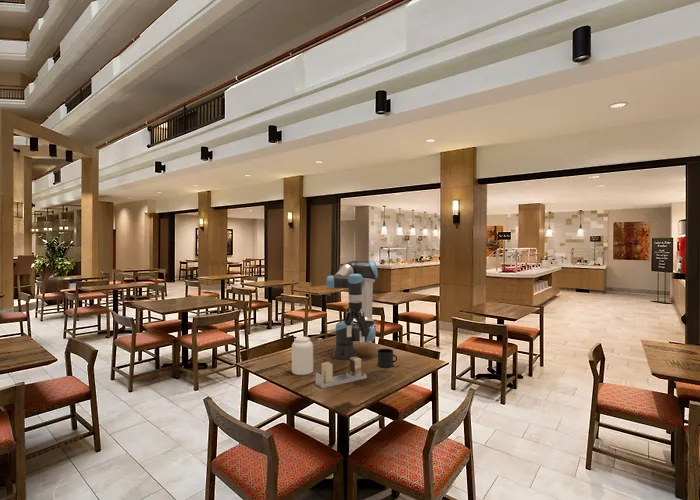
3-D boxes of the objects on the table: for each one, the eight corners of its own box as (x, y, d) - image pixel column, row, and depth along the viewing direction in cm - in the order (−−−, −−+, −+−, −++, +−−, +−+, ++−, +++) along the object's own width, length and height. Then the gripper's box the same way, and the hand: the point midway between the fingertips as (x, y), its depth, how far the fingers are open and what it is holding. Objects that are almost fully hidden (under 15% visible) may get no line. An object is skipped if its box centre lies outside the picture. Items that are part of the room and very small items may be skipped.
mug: (395, 369, 222) (395, 353, 222) (376, 367, 226) (376, 352, 226) (398, 364, 231) (398, 349, 231) (379, 362, 235) (379, 348, 235)
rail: (315, 384, 198) (315, 363, 198) (359, 374, 213) (359, 355, 212) (321, 388, 192) (321, 367, 192) (366, 378, 207) (366, 358, 206)
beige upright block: (361, 375, 206) (361, 358, 206) (354, 376, 203) (354, 360, 203) (356, 372, 210) (356, 356, 210) (349, 374, 208) (349, 357, 208)
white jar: (295, 376, 209) (295, 341, 209) (288, 370, 220) (288, 336, 220) (316, 373, 215) (316, 338, 215) (308, 367, 226) (308, 334, 226)
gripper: (338, 299, 217) (338, 335, 217) (362, 305, 195) (362, 345, 196) (349, 298, 221) (349, 333, 221) (373, 304, 199) (373, 343, 200)
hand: (355, 339), depth 209 cm, fingers open, 13 cm apart
